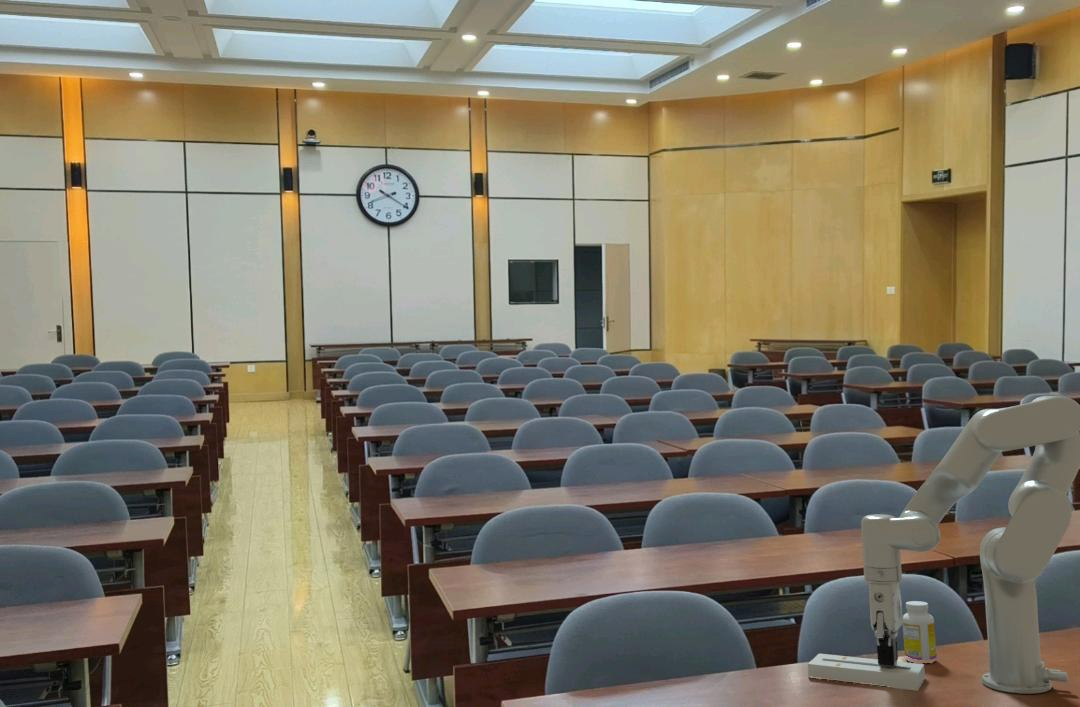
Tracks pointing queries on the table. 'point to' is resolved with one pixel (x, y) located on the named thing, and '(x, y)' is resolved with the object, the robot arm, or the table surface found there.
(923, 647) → the supplement bottle
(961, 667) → the table surface
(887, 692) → the table surface
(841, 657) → the block
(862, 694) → the table surface
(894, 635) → the fader tab
